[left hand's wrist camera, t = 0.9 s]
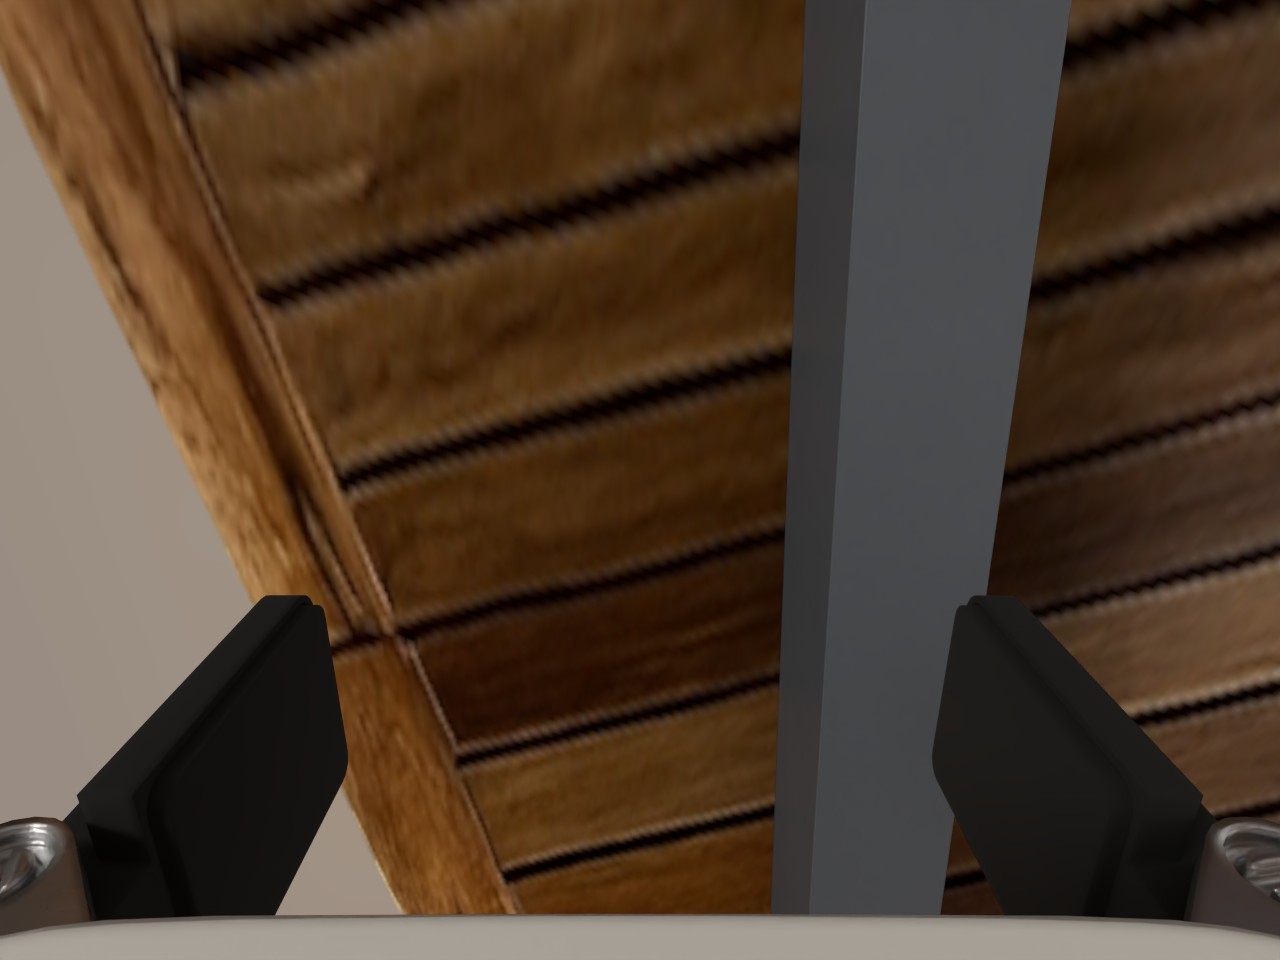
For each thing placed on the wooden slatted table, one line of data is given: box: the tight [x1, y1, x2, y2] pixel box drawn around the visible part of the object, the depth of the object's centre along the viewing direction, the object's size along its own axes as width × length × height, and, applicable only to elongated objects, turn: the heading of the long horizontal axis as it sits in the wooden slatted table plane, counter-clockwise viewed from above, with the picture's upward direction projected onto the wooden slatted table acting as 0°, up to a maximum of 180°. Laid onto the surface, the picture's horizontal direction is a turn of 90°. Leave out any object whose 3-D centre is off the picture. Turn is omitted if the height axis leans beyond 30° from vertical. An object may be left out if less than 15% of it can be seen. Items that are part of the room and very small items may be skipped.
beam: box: [771, 0, 1072, 915], centre depth 37 cm, size 79×6×9 cm, turn 2°
